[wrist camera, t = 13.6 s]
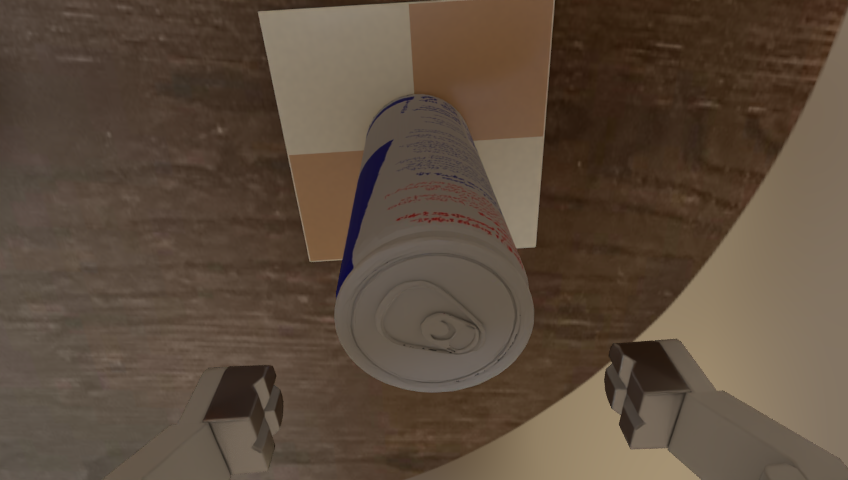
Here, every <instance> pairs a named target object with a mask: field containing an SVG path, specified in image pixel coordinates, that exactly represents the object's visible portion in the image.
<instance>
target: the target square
mask: <svg viewBox="0 0 848 480" xmlns="http://www.w3.org/2000/svg"><path fill="white" fill-rule="evenodd" d="M554 5H555V0H432V1H416V2H399V3H383V4H367V5H351V6H334V7H318V8H302V9H285V10H269V11H258V15H259V20H260V25H261V29H262V34H263V39H264V44H265V49H266V53H267V58H268V63H269V68H270V73H271V78H272V82H273V87H274V92H275V97H276V102H277V107H278V111H279V116H280V121H281V126H282V131H283V136H284V140H285V145H286V150H287V155H288V160H289V164H290V169H291V174H292V179H293V184H294V189H295V193H296V198H297V203H298V208H299V213H300V218H301V222H302V227H303V232H304V237H305V242H306V246H307V251H308V256H309V261H310V262H317V261H332V260H342V259H343V254H344V249H345V244H346V239H347V234H348V229H349V224H350V218H351V213H352V208H353V203H354V198H355V193H356V188H357V183H358V178H359V173H360V167H361V162H362V157H363V152H364V147H365V142H366V135H367V131H368V128H369V126H370V124H371V122H372V120H373V118H374V117H375V115H376V114H377V113H378V112H379V111H380V110H381V109H382V108H383V107H384V106H385V105H387V104H388V103H389V102H391V101H393V100H395V99H397V98H400V97H403V96H407V95H412V94H425V95H431V96H434V97H438V98H440V99H442V100H444V101H446V102H447V103H449V104H451V105H452V106H453V107H454V108H455V109H456V110H457V111H458V112H459V113H460V114H461V116H462V117H463V119H464V120H465V122H466V124H467V127H468V129H469V132H470V134H471V137H472V139H473V142H474V144H475V147H476V149H477V151H478V154H479V156H480V159H481V161H482V164H483V166H484V169H485V171H486V174H487V176H488V179H489V181H490V184H491V186H492V189H493V191H494V194H495V196H496V199H497V201H498V204H499V206H500V209H501V211H502V214H503V216H504V219H505V221H506V224H507V226H508V229H509V231H510V234H511V236H512V239H513V241H514V244H515V246H516V248H530V247H536V237H537V224H538V211H539V199H540V186H541V173H542V160H543V147H544V134H545V121H546V108H547V96H548V83H549V70H550V57H551V44H552V31H553V18H554Z"/></svg>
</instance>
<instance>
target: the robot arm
mask: <svg viewBox="0 0 848 480" xmlns="http://www.w3.org/2000/svg"><path fill="white" fill-rule="evenodd" d="M609 358H610V360H611V362H612V364H611V365H610V366H609V367H608V368H607V369H606V372H605V379H604V382H605V391H606V395H607V398H608V401H609V403H610V406H611V408H612V409H613V410H614V411H616V412H617V413H619V414H620V415H621V418H620V422H619V426H620V428H621V430H622V432H623V434H624V437H625V439H626V441H627V443H628V445H629V447H630V449H653V448H668V450H669V452H671V453H672V454H673V455H674V456H675V457H676V458H677V459H679V460H680V461H681V462H682V463H683V464H684V465H685V466H687V467H688V468H689V469H690V470H691V471H692V472H693V473H695V474H696V475H697V476H698V477H699V478H700V479H701V480H848V468H847V466H846V465H845V464H844V463H843V462H842V461H841V459H840V458H838V457H836V456H834V455H833V454H831V453H829V452H828V451H826V450H824V449H822V448H821V447H819V446H817V445H816V444H814V443H812V442H810V441H809V440H807V439H805V438H804V437H802V436H800V435H798V434H797V433H795V432H793V431H791V430H790V429H788V428H786V427H785V426H783V425H781V424H779V423H778V422H776V421H775V420H773V419H771V418H769V417H768V416H766V415H764V414H763V413H761V412H759V411H757V410H756V409H754V408H752V407H751V406H749V405H747V404H745V403H744V402H742V401H740V400H739V399H737V398H735V397H734V396H732V395H730V394H728V393H727V392H725V391H716V389H715V388H714V386H713V385H712V383H711V382H710V381H709V380H708V378H707V377H706V375H705V374H704V372H703V371H702V370H701V368H700V367H699V366H698V364H697V363H696V361H695V360H694V359H693V357H692V356H691V355H690V353H689V352H688V351H687V349H686V348H685V346H684V345H683V344H682V342H681V341H679V340H677V339H668V340H655V341H641V342H627V343H613V344H612V346H611V347H610V351H609ZM275 379H276V373H275V371H274V368H273V366H271V365H257V366H230V367H214V368H208V369H206V370H205V371H204V372H203V373H202V375H201V377H200V380H199V382H198V384H197V386H196V388H195V390H194V392H193V394H192V396H191V398H190V400H189V402H188V404H187V406H186V408H185V410H184V412H183V414H182V416H181V418H180V420H179V422H178V424H174V425H170V426H169V427H167V428H166V429H165V430H164V431H162V432H161V433H160V434H159V435H157V436H156V437H155V438H154V439H152V440H151V441H150V442H149V443H147V444H146V445H145V446H143V447H142V448H141V449H140V450H138V451H137V452H136V453H135V454H133V455H132V456H131V457H130V458H128V459H127V460H126V461H125V462H123V463H122V464H121V465H120V466H118V467H117V468H116V469H115V470H113V471H112V472H111V473H109V474H108V475H107V476H106V477H104V478H103V479H102V480H229V479H230V478H231V475H236V474H247V473H258V472H268V470H269V467H270V463H271V460H272V456H273V452H274V449H275V443H274V440H273V437H272V436H273V435H274V434H275V433H276V432H277V431H278V430H279V429H280V426H281V422H282V418H283V397H282V393H281V390H280V389H279V388H278V387H277V386H275V385H274V383H275Z"/></svg>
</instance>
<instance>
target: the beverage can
mask: <svg viewBox="0 0 848 480" xmlns="http://www.w3.org/2000/svg"><path fill="white" fill-rule="evenodd" d="M334 319H335V326H336V332H337V335H338V338H339V341H340V343H341V345H342V346H343V348H344V350H345V351H346V352H347V354H348V355H349V357H350V358H351V359H352V360H353V361H354V363H355V364H356V365H358V366H359V367H360V368H361V369H363V370H364V371H365V372H366V373H368V374H369V375H371V376H373V377H374V378H376V379H378V380H380V381H382V382H384V383H386V384H389V385H392V386H395V387H398V388H401V389H407V390H412V391H419V392H446V391H456V390H460V389H464V388H467V387H471V386H475V385H478V384H480V383H482V382H484V381H486V380H488V379H490V378H492V377H494V376H496V375H498V374H499V373H501V372H502V371H503V370H505V369H506V368H507V367H509V366H510V365H511V364H512V363H513V362H514V361H515V360H516V359H517V357H518V356H519V355H520V353H521V352H522V351H523V349H524V348H525V346H526V344H527V342H528V340H529V338H530V335H531V333H532V329H533V324H534V306H533V301H532V297H531V294H530V291H529V287H528V279H527V276H526V272H525V269H524V266H523V264H522V261H521V259H520V256H519V254H518V251H517V249H516V246H515V244H514V241H513V239H512V236H511V234H510V231H509V229H508V226H507V224H506V221H505V219H504V216H503V214H502V211H501V209H500V206H499V204H498V201H497V199H496V196H495V194H494V191H493V189H492V186H491V184H490V181H489V179H488V176H487V174H486V171H485V169H484V166H483V164H482V161H481V159H480V156H479V154H478V151H477V149H476V147H475V144H474V142H473V139H472V137H471V134H470V132H469V129H468V127H467V124H466V122H465V120H464V119H463V117H462V116H461V114H460V113H459V112H458V111H457V110H456V109H455V108H454V107H453V106H452V105H451V104H449V103H447V102H446V101H444V100H442V99H440V98H438V97H434V96H431V95H425V94H412V95H407V96H403V97H400V98H397V99H395V100H393V101H391V102H389V103H388V104H387V105H385V106H384V107H383V108H382V109H381V110H380V111H379V112H378V113H377V114H376V115H375V117H374V118H373V120H372V122H371V124H370V126H369V128H368V131H367V135H366V142H365V147H364V152H363V157H362V162H361V167H360V173H359V178H358V183H357V188H356V193H355V198H354V203H353V208H352V213H351V218H350V224H349V229H348V234H347V239H346V244H345V249H344V254H343V259H342V264H341V269H340V274H339V280H338V285H337V291H336V304H335V315H334Z"/></svg>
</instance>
